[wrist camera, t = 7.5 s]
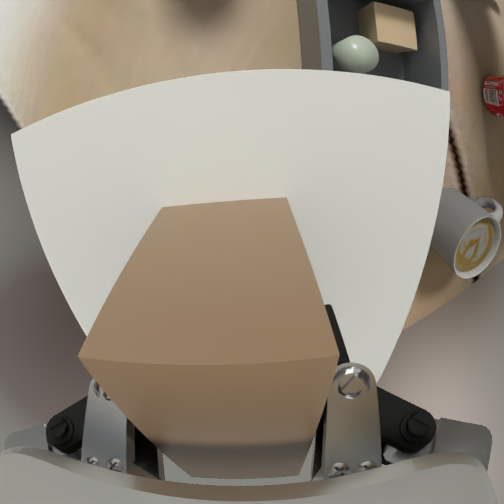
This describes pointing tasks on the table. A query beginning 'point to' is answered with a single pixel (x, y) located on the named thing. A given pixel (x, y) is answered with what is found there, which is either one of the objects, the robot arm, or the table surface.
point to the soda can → (494, 94)
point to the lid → (237, 247)
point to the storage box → (375, 38)
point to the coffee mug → (466, 232)
